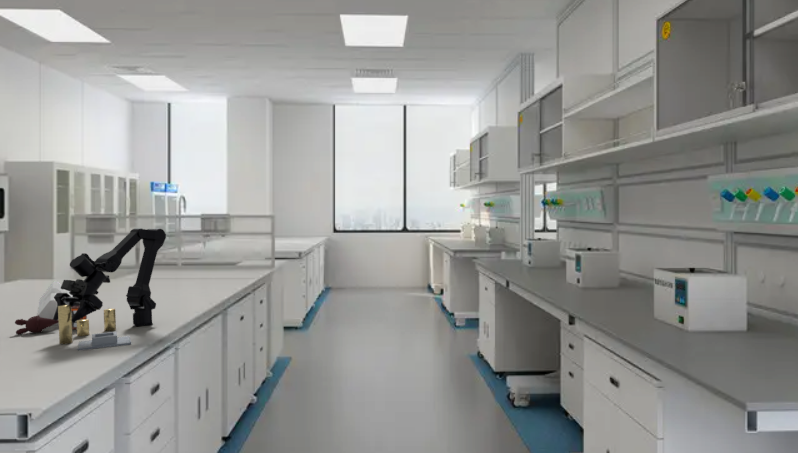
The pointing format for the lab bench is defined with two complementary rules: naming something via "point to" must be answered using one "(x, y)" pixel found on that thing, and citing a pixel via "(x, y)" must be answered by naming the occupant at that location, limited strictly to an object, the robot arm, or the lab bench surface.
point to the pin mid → (109, 320)
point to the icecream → (34, 324)
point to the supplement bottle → (73, 311)
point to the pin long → (65, 324)
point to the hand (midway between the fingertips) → (63, 320)
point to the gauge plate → (104, 341)
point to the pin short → (83, 327)
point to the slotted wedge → (50, 301)
